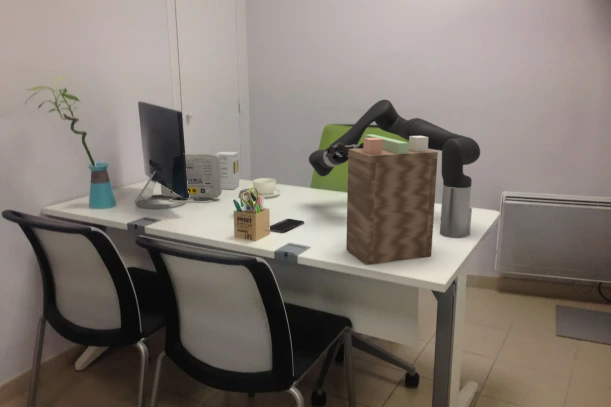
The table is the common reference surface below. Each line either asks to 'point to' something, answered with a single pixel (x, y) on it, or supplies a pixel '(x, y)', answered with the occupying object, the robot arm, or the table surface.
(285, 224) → the phone
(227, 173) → the supplement box
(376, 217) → the walnut stand
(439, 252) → the table surface
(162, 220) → the table surface
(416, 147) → the grey block
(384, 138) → the sage green bar
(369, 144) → the terracotta block
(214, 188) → the network device
